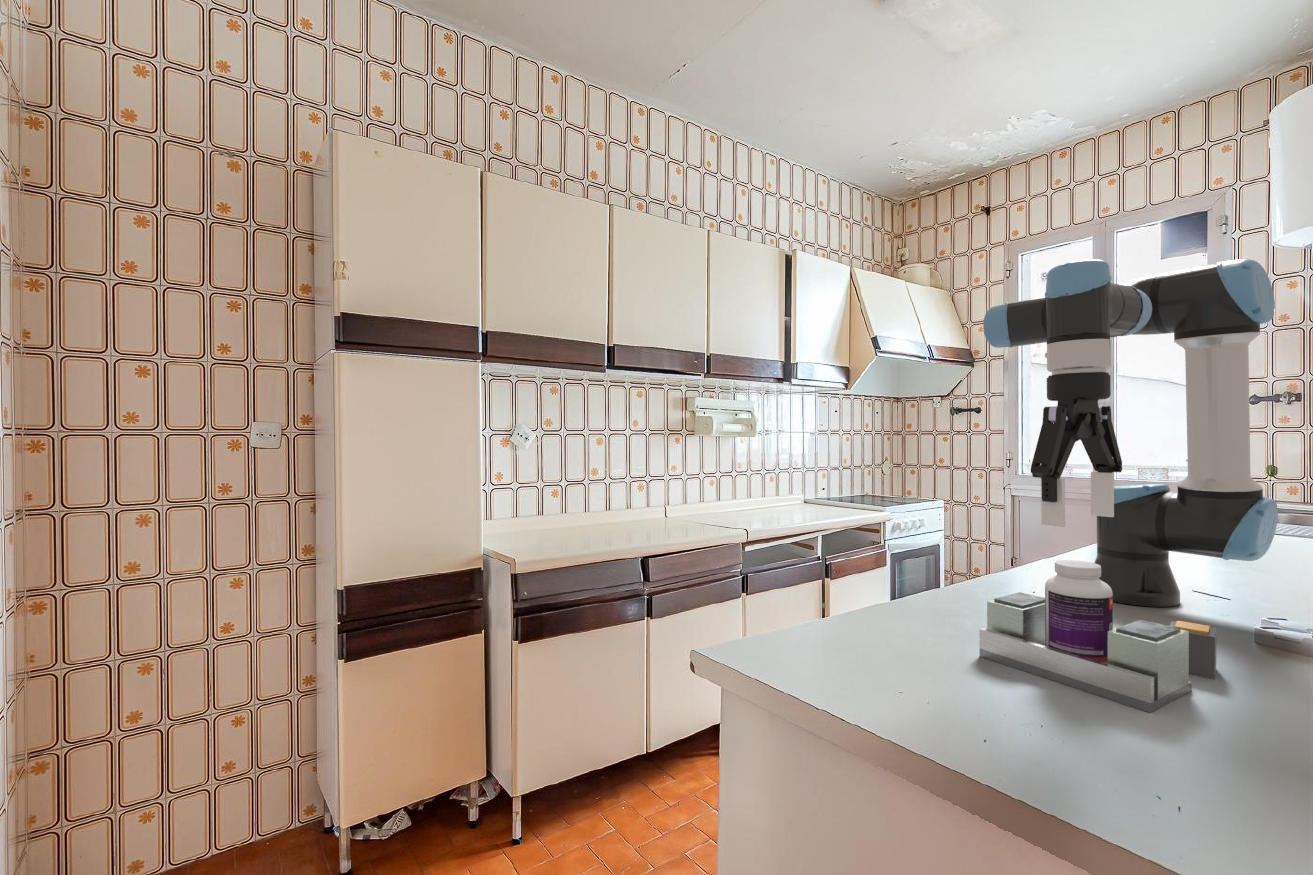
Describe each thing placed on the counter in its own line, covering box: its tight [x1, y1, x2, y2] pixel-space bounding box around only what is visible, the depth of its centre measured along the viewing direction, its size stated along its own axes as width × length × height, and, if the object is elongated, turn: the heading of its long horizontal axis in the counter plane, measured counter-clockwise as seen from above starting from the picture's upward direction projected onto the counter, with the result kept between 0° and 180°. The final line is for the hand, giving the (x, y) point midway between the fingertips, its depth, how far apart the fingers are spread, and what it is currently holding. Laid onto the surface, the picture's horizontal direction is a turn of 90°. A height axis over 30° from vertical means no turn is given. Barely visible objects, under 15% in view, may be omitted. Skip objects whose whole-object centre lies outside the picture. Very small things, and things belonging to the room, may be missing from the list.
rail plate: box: [978, 591, 1193, 714], centre depth 88 cm, size 12×22×9 cm, turn 30°
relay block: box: [1169, 620, 1218, 680], centre depth 88 cm, size 5×5×6 cm
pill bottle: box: [1044, 559, 1114, 664], centre depth 88 cm, size 8×8×14 cm
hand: (1078, 520), depth 88 cm, fingers open, 13 cm apart
